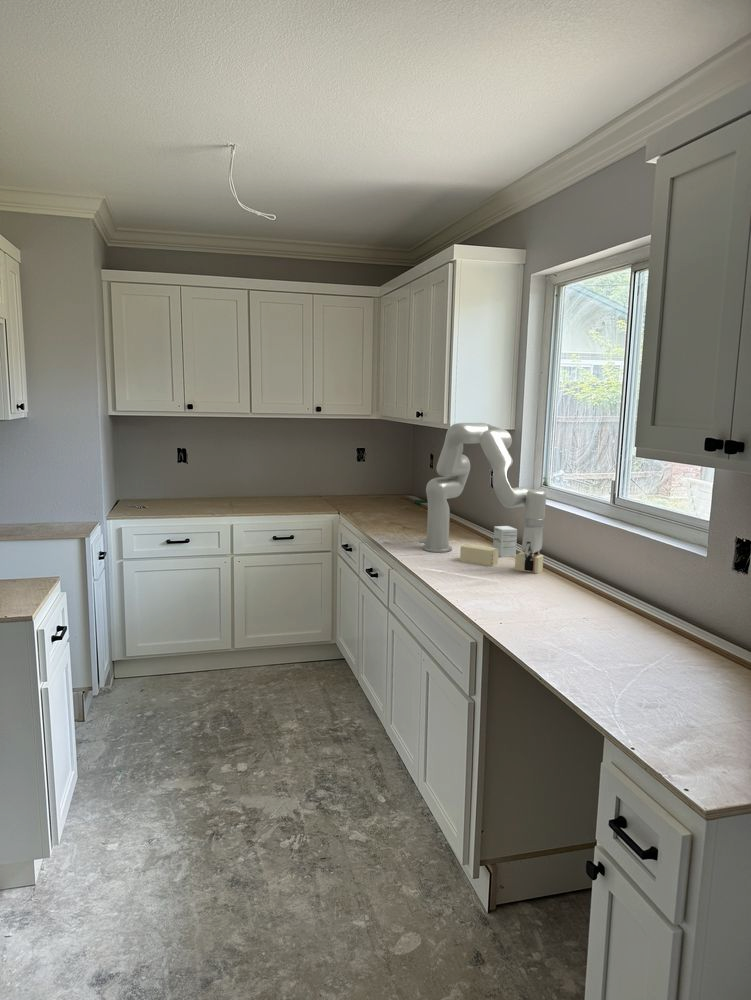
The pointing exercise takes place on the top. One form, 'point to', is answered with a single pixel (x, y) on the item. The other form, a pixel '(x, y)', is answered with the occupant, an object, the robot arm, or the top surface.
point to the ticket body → (479, 555)
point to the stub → (536, 564)
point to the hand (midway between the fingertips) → (531, 568)
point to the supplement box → (505, 541)
